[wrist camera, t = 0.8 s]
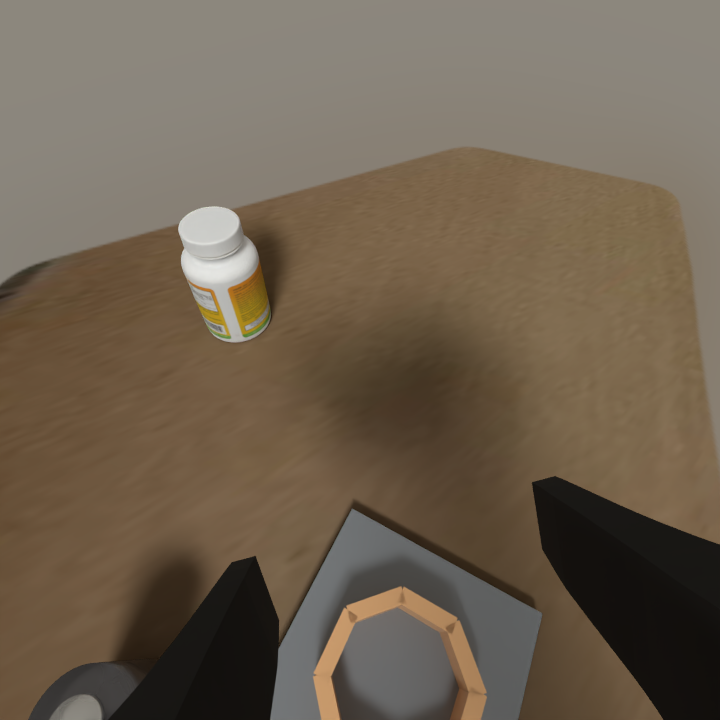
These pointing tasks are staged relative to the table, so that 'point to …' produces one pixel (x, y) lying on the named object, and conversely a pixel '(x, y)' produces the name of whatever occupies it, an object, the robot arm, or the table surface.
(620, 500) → the table surface
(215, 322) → the supplement bottle
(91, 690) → the cell
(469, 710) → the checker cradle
